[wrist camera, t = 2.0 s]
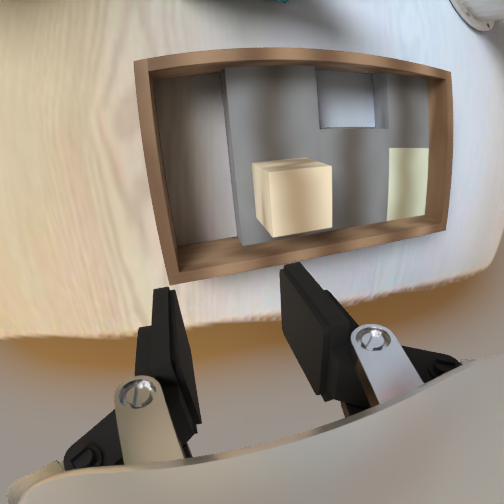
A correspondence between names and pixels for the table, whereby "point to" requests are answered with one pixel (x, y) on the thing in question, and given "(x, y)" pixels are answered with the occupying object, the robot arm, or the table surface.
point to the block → (293, 195)
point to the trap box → (310, 153)
